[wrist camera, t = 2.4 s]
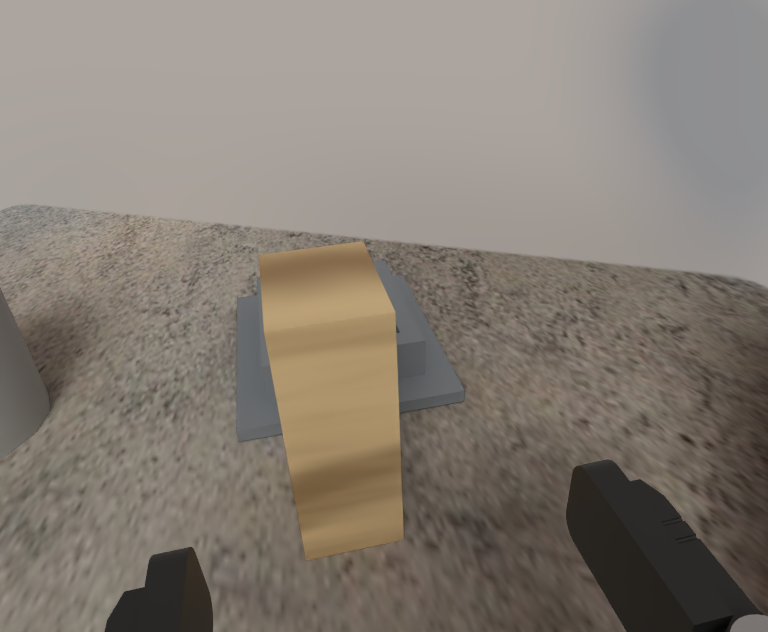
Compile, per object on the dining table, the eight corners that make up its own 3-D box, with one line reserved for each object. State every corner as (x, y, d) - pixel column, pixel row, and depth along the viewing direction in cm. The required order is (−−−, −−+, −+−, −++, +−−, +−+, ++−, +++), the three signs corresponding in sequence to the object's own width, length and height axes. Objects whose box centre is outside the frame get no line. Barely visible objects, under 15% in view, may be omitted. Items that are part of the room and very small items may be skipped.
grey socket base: (464, 401, 33) (466, 355, 31) (239, 441, 31) (227, 395, 29) (402, 283, 46) (401, 246, 44) (239, 307, 44) (231, 268, 42)
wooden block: (403, 539, 25) (395, 312, 19) (306, 561, 25) (263, 331, 18) (376, 446, 30) (363, 241, 24) (295, 461, 30) (258, 254, 23)
